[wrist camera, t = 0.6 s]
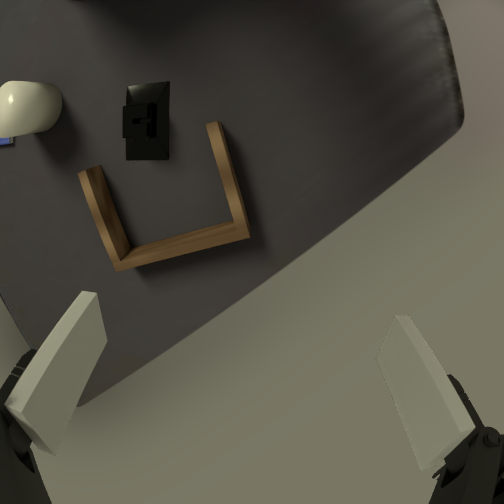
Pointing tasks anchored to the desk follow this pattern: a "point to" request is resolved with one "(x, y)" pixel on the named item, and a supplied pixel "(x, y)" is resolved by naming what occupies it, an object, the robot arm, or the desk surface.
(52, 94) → the cream cylinder
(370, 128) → the desk surface
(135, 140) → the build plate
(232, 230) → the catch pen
